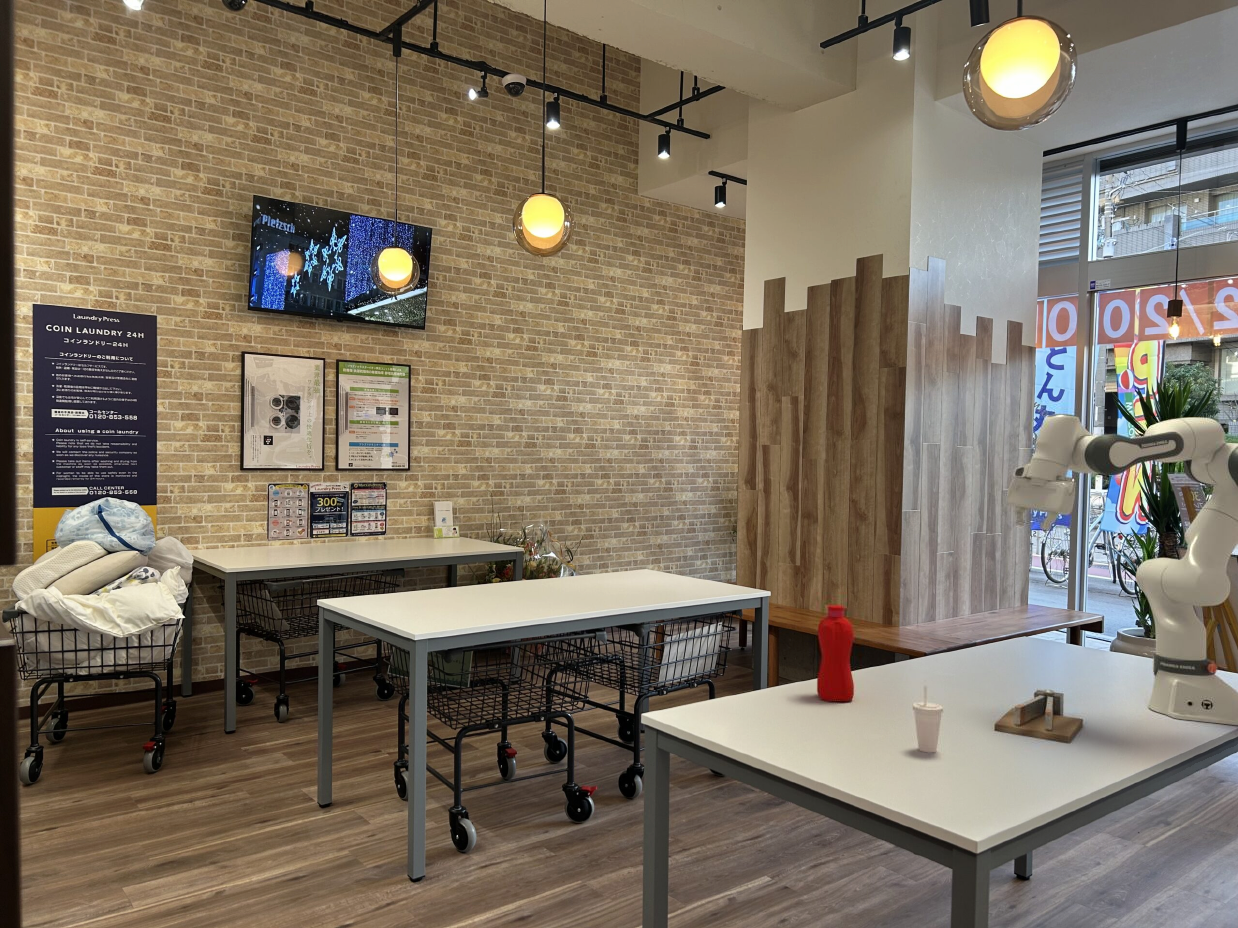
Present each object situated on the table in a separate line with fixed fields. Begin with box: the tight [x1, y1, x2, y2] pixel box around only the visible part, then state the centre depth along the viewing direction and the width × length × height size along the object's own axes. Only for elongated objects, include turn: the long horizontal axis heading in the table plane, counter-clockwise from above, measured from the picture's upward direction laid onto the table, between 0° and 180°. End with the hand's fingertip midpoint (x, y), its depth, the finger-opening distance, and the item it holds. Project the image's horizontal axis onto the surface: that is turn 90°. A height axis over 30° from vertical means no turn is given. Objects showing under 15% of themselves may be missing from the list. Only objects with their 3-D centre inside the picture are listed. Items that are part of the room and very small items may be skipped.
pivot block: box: [1033, 689, 1065, 716], centre depth 221 cm, size 6×4×7 cm, turn 54°
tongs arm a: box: [1045, 697, 1053, 730], centre depth 211 cm, size 16×1×4 cm, turn 153°
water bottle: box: [816, 604, 855, 703], centre depth 238 cm, size 9×11×25 cm
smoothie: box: [912, 685, 944, 753], centre depth 194 cm, size 6×6×14 cm
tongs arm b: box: [1014, 695, 1045, 725], centre depth 213 cm, size 16×1×4 cm, turn 135°
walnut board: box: [994, 707, 1084, 744], centre depth 212 cm, size 16×18×2 cm
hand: (1031, 527), depth 223 cm, fingers open, 8 cm apart
